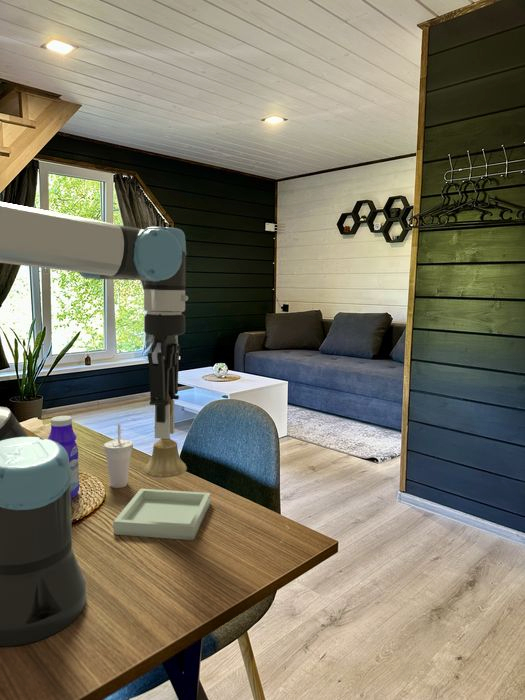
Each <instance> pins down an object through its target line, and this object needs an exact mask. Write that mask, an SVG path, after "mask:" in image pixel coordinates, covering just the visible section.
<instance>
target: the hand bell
mask: <svg viewBox="0 0 525 700" xmlns="http://www.w3.org/2000/svg"><path fill="white" fill-rule="evenodd" d="M168 404H170V415H171V410H172V403H171V398H170V395H169V392H168ZM179 454H180V453H179V449H178V443H177V441H175V440H173V439H171V437H170V438H169V439H161V438H159V440H156V441H155V442H154V444H153V447H152V454H151V457H150V460H149V461H148V462H147V463H146V464H145V466H144V468H143V473H144V474H146V475H147V476H149V477H153V478H159V479H161V478H163V479H164V478H173V477H177V476H181V475H183V474H184V473H185V472H187V470H188V467H187V465H186V463H185V462H184V461H183V460H182V459H181V457H180V455H179Z"/></svg>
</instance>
